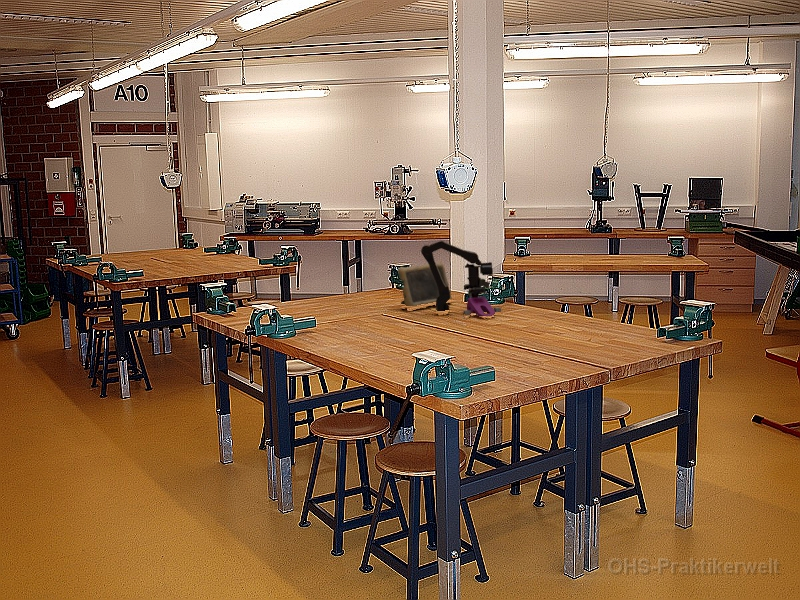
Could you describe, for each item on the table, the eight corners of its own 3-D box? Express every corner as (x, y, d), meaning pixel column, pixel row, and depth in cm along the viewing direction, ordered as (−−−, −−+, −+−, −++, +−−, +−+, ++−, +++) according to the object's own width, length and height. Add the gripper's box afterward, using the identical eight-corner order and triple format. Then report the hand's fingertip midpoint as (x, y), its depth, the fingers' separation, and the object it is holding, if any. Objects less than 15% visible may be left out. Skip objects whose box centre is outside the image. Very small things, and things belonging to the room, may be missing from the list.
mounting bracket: (495, 328, 432) (481, 309, 446) (497, 315, 427) (484, 296, 441) (478, 330, 429) (465, 311, 443) (481, 316, 424) (468, 298, 438)
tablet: (414, 312, 458) (411, 268, 455) (397, 310, 469) (394, 267, 465) (454, 304, 480) (452, 261, 477) (437, 302, 490) (435, 260, 487)
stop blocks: (465, 318, 430) (465, 311, 430) (463, 317, 433) (463, 310, 433) (501, 315, 435) (500, 307, 434) (499, 314, 438) (498, 306, 437)
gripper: (493, 276, 435) (494, 305, 437) (482, 272, 453) (483, 300, 455) (473, 277, 432) (475, 307, 435) (462, 274, 450) (464, 302, 453)
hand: (474, 304), depth 444 cm, fingers closed
